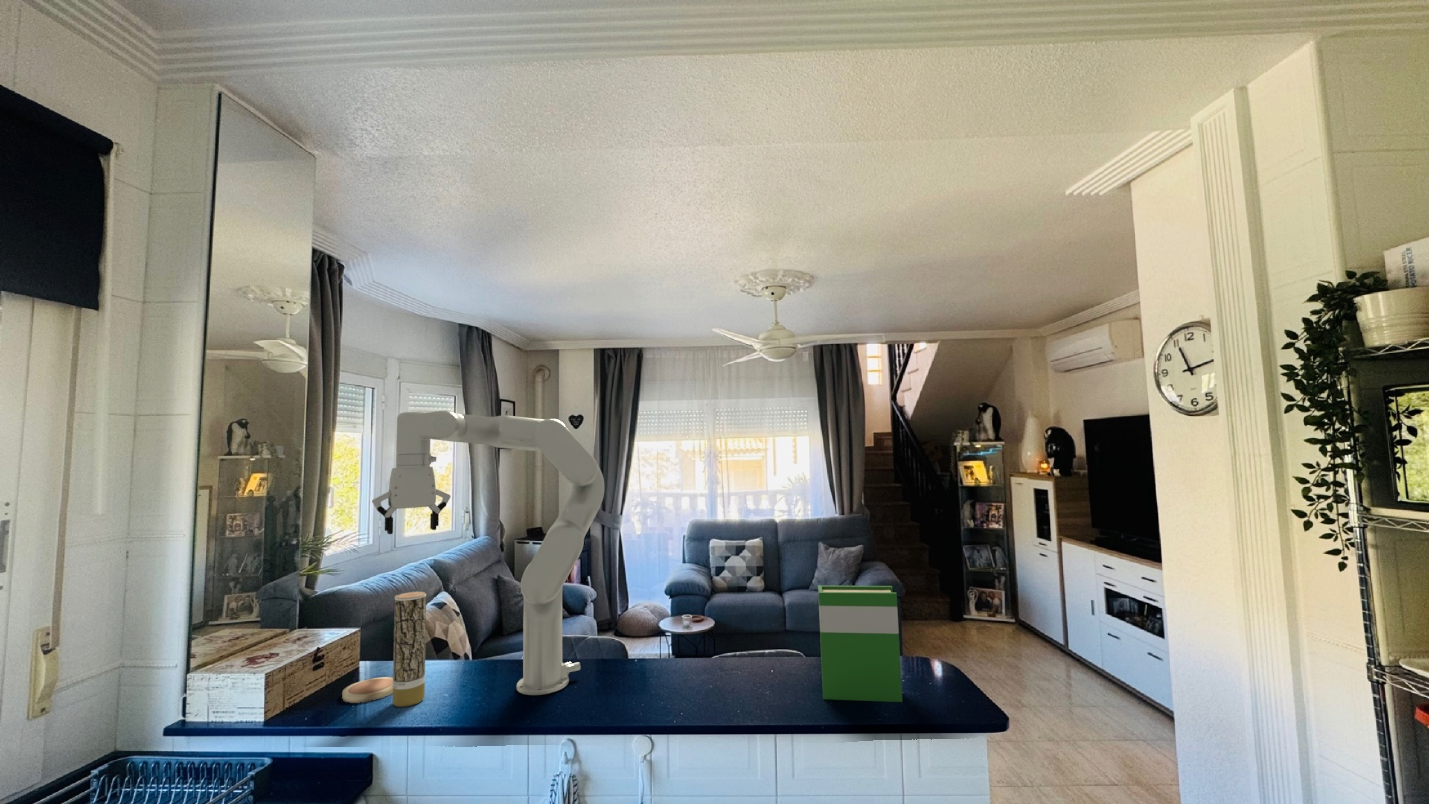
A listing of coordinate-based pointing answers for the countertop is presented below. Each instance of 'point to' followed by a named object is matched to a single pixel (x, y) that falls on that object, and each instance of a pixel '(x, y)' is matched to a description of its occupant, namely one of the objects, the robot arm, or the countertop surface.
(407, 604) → the paper tube
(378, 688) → the plate
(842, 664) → the hardback book
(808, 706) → the countertop surface
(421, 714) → the countertop surface
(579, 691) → the countertop surface
